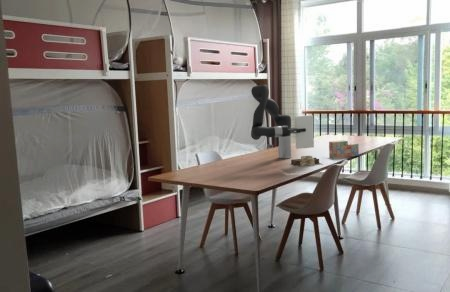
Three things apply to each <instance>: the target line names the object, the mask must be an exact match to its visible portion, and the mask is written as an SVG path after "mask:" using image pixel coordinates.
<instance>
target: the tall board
mask: <svg viewBox="0 0 450 292" xmlns="http://www.w3.org/2000/svg"><path fill="white" fill-rule="evenodd" d="M294 128H297V129H299V128H300V129H303V128H305V129H306V132H301V133H295V134H294V135H295V137H294V139H295V149H297V150H298V149H311V148H315V142H314V141H315V139H314V115H312V114H311V115H310V114H308V115H307V114H306V115H295V116H294ZM298 132H299V130H298Z"/></svg>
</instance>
